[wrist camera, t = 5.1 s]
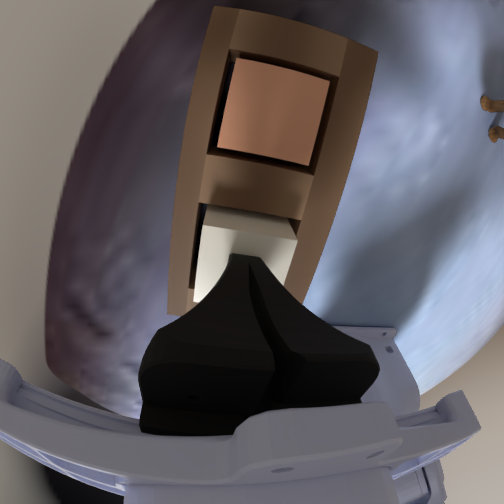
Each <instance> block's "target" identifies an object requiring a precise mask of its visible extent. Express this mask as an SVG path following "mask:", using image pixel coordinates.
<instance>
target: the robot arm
mask: <svg viewBox="0 0 504 504" xmlns="http://www.w3.org/2000/svg"><path fill="white" fill-rule="evenodd" d="M396 333H397V331H396V329H395V328H375V327H345V326H331V325H329V324H328V323H326V322H325V321H323V320H322V319H320V318H319V317H317V316H316V315H315V314H313V313H312V312H311V311H309V310H308V309H307V308H306V307H305V306H303V305H302V304H301V303H300V302H299V301H298V300H297V299H296V298H294V297H293V296H292V295H291V293H290V292H289V291H288V290H287V289H286V288H285V287H284V286H283V285H282V284H281V283H280V282H279V280H278V279H277V278H276V277H275V276H274V274H273V273H272V272H271V271H270V269H269V268H268V267H267V265H266V264H265V263H264V261H263V260H262V259H261V258H260V257H256V256H249V255H242V254H236V253H231V254H230V255H229V258H228V264H227V266H226V268H225V270H224V272H223V273H222V275H221V277H220V278H219V280H218V281H217V283H216V284H215V285H214V287H213V288H212V289H211V291H210V292H209V293H208V294H207V295H206V296H205V297H204V298H203V299H202V300H201V301H200V302H199V303H198V304H197V305H196V306H195V307H193V308H192V309H191V310H190V311H188V312H187V313H185V314H184V315H183V316H181V317H180V318H178V319H177V320H175V321H174V322H172V323H170V324H168V325H166V326H164V327H162V328H160V329H158V331H157V332H156V334H155V335H154V337H153V338H152V340H151V342H150V343H149V345H148V347H147V349H146V351H145V354H144V356H143V358H142V362H141V366H140V369H139V374H138V382H139V387H140V391H141V396H142V400H143V404H142V409H141V415H140V420H139V419H135V418H130V417H126V416H122V415H118V414H114V413H111V412H107V411H103V410H100V409H96V408H93V407H90V406H87V405H84V404H81V403H77V402H75V401H72V400H69V399H66V398H63V397H61V396H59V395H56V394H53V393H51V392H49V391H46V390H43V389H41V388H39V387H37V386H34V385H32V384H30V383H28V382H26V381H24V380H22V378H21V376H20V374H19V372H18V371H17V370H16V368H15V367H13V366H12V365H11V364H10V363H8V362H6V361H4V360H2V359H0V439H1V440H3V441H4V442H6V443H7V444H9V445H10V446H12V447H14V448H15V449H17V450H19V451H20V452H22V453H24V454H26V455H27V456H29V457H31V458H33V459H35V460H37V461H38V462H40V463H42V464H44V465H46V466H48V467H50V468H52V469H54V470H56V471H58V472H61V473H63V474H65V475H67V476H70V477H72V478H74V479H77V480H79V481H82V482H84V483H87V484H89V485H92V486H95V487H98V488H100V489H103V490H106V491H109V492H113V493H116V494H119V495H123V496H124V504H445V503H444V501H445V500H446V498H447V496H446V492H445V488H444V484H443V481H444V474H443V470H442V466H441V463H440V460H439V459H440V458H442V457H444V456H445V455H447V454H448V453H450V452H451V451H453V450H454V449H456V448H457V447H459V446H460V445H461V444H463V443H464V442H465V441H467V440H468V439H469V438H471V437H472V436H473V435H475V434H476V433H477V432H478V431H480V429H481V426H480V424H479V422H478V420H477V418H476V416H475V414H474V412H473V410H472V408H471V406H470V404H469V402H468V400H467V399H466V397H465V395H464V393H463V391H462V390H459V391H456V392H453V393H450V394H448V395H446V396H445V397H443V398H442V399H441V400H440V401H439V402H438V403H437V404H436V406H433V407H430V408H427V409H423V410H420V411H419V407H420V406H419V405H420V394H419V389H418V385H417V383H416V381H415V379H414V377H413V375H412V373H411V371H410V369H409V367H408V366H407V364H406V362H405V360H404V358H403V356H402V354H401V353H400V351H399V349H398V347H397V345H396V344H395V342H394V340H393V338H394V336H395V335H396Z"/></svg>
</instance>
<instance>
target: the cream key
mask: <svg viewBox="0 0 504 504" xmlns="http://www.w3.org/2000/svg"><path fill="white" fill-rule="evenodd" d="M297 241H298V240H297V238H296V236H295V234H294V232H293V230H292V227H291V225H290V223H289V221H288V219H287V217H282V216H277V215H271V214H266V213H260V212H254V211H249V210H243V209H237V208H231V207H225V206H219V205H213V204H208V206H207V210H206V214H205V218H204V222H203V227H202V234H201V241H200V248H199V256H198V264H197V272H196V281H195V290H194V299H193V302H200V301H201V300H202V299H203V298H204V297H205V296H206V295H207V294H208V293H209V292H210V291H211V289H212V288H213V287H214V285H215V284H216V283H217V281H218V280H219V278H220V277H221V275H222V273H223V272H224V270H225V268H226V266H227V264H228V258H229V255H230V254H231V253H236V254H242V255H249V256H256V257H260V258H261V259H262V260H263V261H264V263H265V264H266V265H267V267H268V268H269V269H270V271H271V272H272V273H273V274H274V276H275V277H276V278H277V279H278V280H279V282H280V283H281V284H282V285H284V282H285V279H286V276H287V273H288V270H289V267H290V264H291V260H292V257H293V254H294V251H295V248H296V245H297Z"/></svg>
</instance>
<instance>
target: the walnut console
mask: <svg viewBox="0 0 504 504" xmlns="http://www.w3.org/2000/svg"><path fill="white" fill-rule="evenodd" d="M377 57H378V52H377V51H375V50H373V49H371V48H369V47H367V46H364V45H362V44H360V43H358V42H355V41H353V40H350V39H348V38H345V37H343V36H340V35H338V34H335V33H332V32H329V31H327V30H324V29H321V28H318V27H315V26H311V25H308V24H305V23H302V22H298V21H294V20H291V19H287V18H283V17H279V16H274V15H270V14H265V13H260V12H255V11H249V10H243V9H237V8H229V7H221V6H214V8H213V11H212V14H211V18H210V21H209V24H208V28H207V31H206V35H205V39H204V42H203V46H202V50H201V54H200V58H199V62H198V66H197V71H196V75H195V79H194V84H193V88H192V93H191V98H190V103H189V108H188V113H187V119H186V124H185V130H184V136H183V142H182V148H181V155H180V162H179V169H178V176H177V184H176V192H175V201H174V210H173V221H172V232H171V244H170V259H169V277H168V305H167V314H171V315H177V316H183V315H184V314H185V313H187V312H188V311H190V310H191V309H192V308H193V307H195V306H196V305H197V304H198V303H199V302H193V299H194V290H195V281H196V272H197V264H198V260H195V252H196V244H197V236H198V229H199V222H200V215H201V208H202V203H206V204H213V205H219V206H225V207H231V208H237V209H243V210H249V211H254V212H260V213H266V214H271V215H277V216H282V217H287V219H288V221H289V223H290V225H291V227H292V230H293V232H294V234H295V236H296V238H297V240H298V241H297V245H296V248H295V251H294V254H293V257H292V260H291V264H290V267H289V270H288V273H287V276H286V279H285V282H284V285H283V286H284V287H285V288H286V289H287V290H288V291H289V292H290V293H291V295H292V296H293V297H294V298H296V299H297V300H298V301H299V302H300V303H301V304H303V301H304V299H305V296H306V294H307V291H308V289H309V286H310V284H311V281H312V279H313V276H314V273H315V271H316V268H317V265H318V263H319V260H320V257H321V255H322V252H323V249H324V246H325V243H326V241H327V238H328V235H329V232H330V229H331V226H332V223H333V220H334V217H335V214H336V211H337V208H338V205H339V202H340V199H341V196H342V193H343V190H344V187H345V183H346V180H347V177H348V173H349V170H350V167H351V163H352V160H353V156H354V153H355V149H356V146H357V142H358V138H359V135H360V131H361V127H362V123H363V119H364V115H365V111H366V107H367V103H368V99H369V95H370V90H371V86H372V81H373V77H374V72H375V67H376V62H377ZM236 58H240V59H246V60H251V61H256V62H261V63H266V64H270V65H274V66H279V67H283V68H287V69H290V70H294V71H298V72H301V73H305V74H308V75H311V76H315V77H318V78H321V79H324V80H327V81H330V83H329V87H328V91H327V96H326V100H325V104H324V108H323V112H322V116H321V120H320V124H319V128H318V132H317V136H316V139H315V143H314V147H313V151H312V155H311V158H310V162H309V166H307V165H303V164H299V163H295V162H290V161H286V160H282V159H277V158H273V157H268V156H263V155H258V154H253V153H248V152H243V151H237V150H231V149H226V148H219V147H213V146H212V142H213V137H214V132H215V127H216V122H217V117H218V112H219V107H220V103H221V98H222V93H223V89H224V85H225V80H226V76H227V72H228V67H229V63H230V62H236Z"/></svg>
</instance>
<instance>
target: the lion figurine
mask: <svg viewBox="0 0 504 504" xmlns="http://www.w3.org/2000/svg"><path fill="white" fill-rule="evenodd" d="M480 103H481V107H482V109H483V110H485V111H488V112H491V113H492V112H504V101H503V100H498V101H494V100H490V99H489V98H488V97H486V96H482V98H481V101H480ZM488 135H489V137H490V140H491V141H492V142H494V143H495V142H496V141H497V139H498V138H502V139H504V128H502V127H500V126H494V127H491V128H490V129H489V134H488Z"/></svg>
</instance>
